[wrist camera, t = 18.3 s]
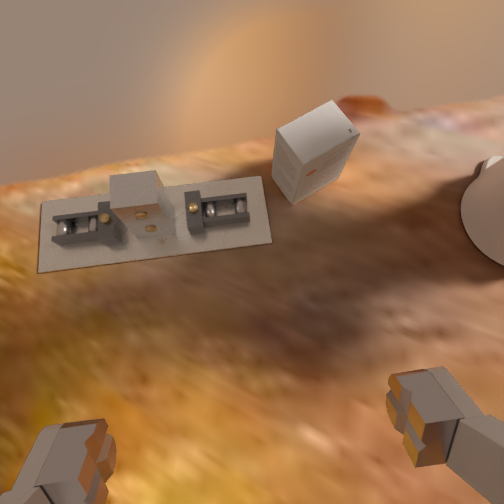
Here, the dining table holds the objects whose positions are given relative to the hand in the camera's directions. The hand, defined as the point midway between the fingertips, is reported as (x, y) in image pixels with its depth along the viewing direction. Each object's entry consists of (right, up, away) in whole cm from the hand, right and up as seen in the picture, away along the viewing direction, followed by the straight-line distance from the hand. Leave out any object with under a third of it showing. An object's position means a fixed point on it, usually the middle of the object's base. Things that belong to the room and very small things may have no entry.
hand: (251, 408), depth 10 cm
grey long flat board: (-13, +8, +36) cm, 39 cm away
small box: (+7, +15, +38) cm, 41 cm away
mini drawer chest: (-13, +8, +35) cm, 38 cm away
